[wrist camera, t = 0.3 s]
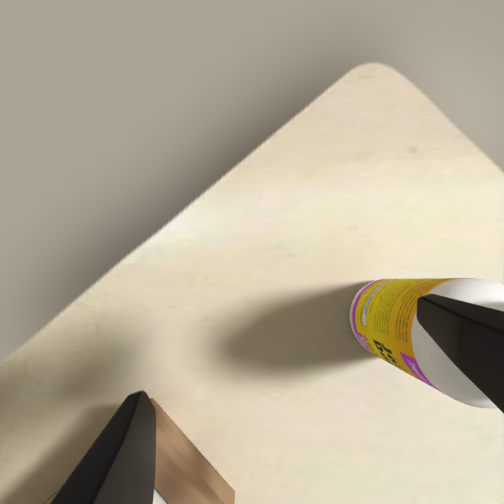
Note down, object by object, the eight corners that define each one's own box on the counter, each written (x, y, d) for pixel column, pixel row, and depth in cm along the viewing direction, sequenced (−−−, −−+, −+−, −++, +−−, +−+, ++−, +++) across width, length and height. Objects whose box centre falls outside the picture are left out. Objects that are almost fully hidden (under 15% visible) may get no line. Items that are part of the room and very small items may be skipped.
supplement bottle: (333, 331, 23) (449, 397, 10) (366, 265, 23) (513, 246, 11) (401, 369, 22) (610, 487, 10) (432, 302, 23) (664, 327, 10)
